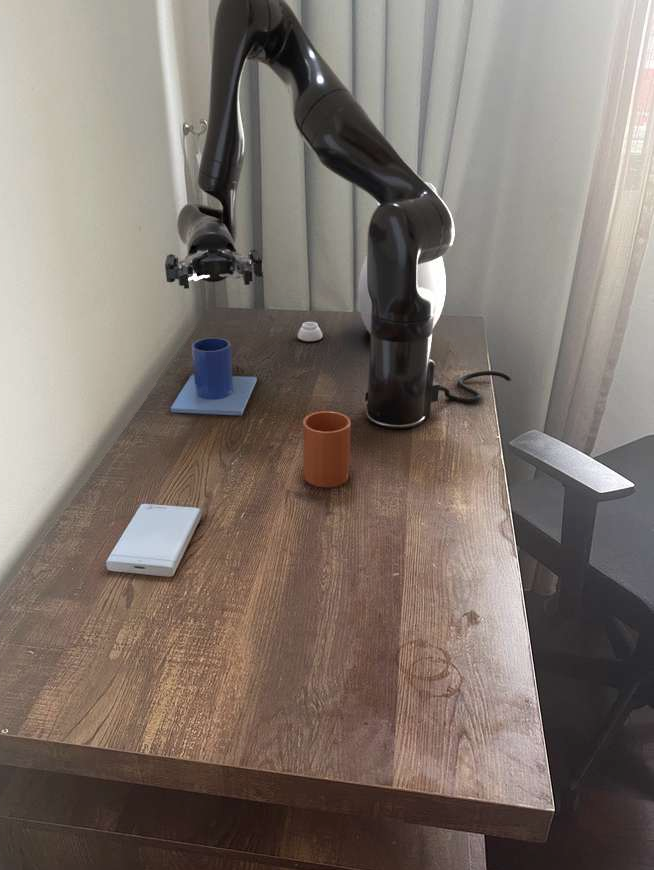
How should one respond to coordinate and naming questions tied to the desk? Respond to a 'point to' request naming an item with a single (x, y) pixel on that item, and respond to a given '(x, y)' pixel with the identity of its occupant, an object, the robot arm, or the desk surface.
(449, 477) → the desk surface
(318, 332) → the white jar
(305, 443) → the terracotta cup
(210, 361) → the blue cup
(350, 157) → the robot arm
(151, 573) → the hard drive
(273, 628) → the desk surface
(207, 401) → the blue mat
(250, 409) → the desk surface
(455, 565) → the desk surface
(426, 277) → the pitcher
